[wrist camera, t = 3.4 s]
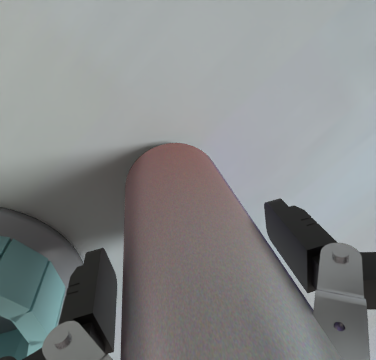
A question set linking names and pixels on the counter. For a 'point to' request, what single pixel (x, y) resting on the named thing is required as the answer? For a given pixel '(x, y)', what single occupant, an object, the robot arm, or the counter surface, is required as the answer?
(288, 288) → the beverage can
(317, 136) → the counter surface
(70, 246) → the holder
